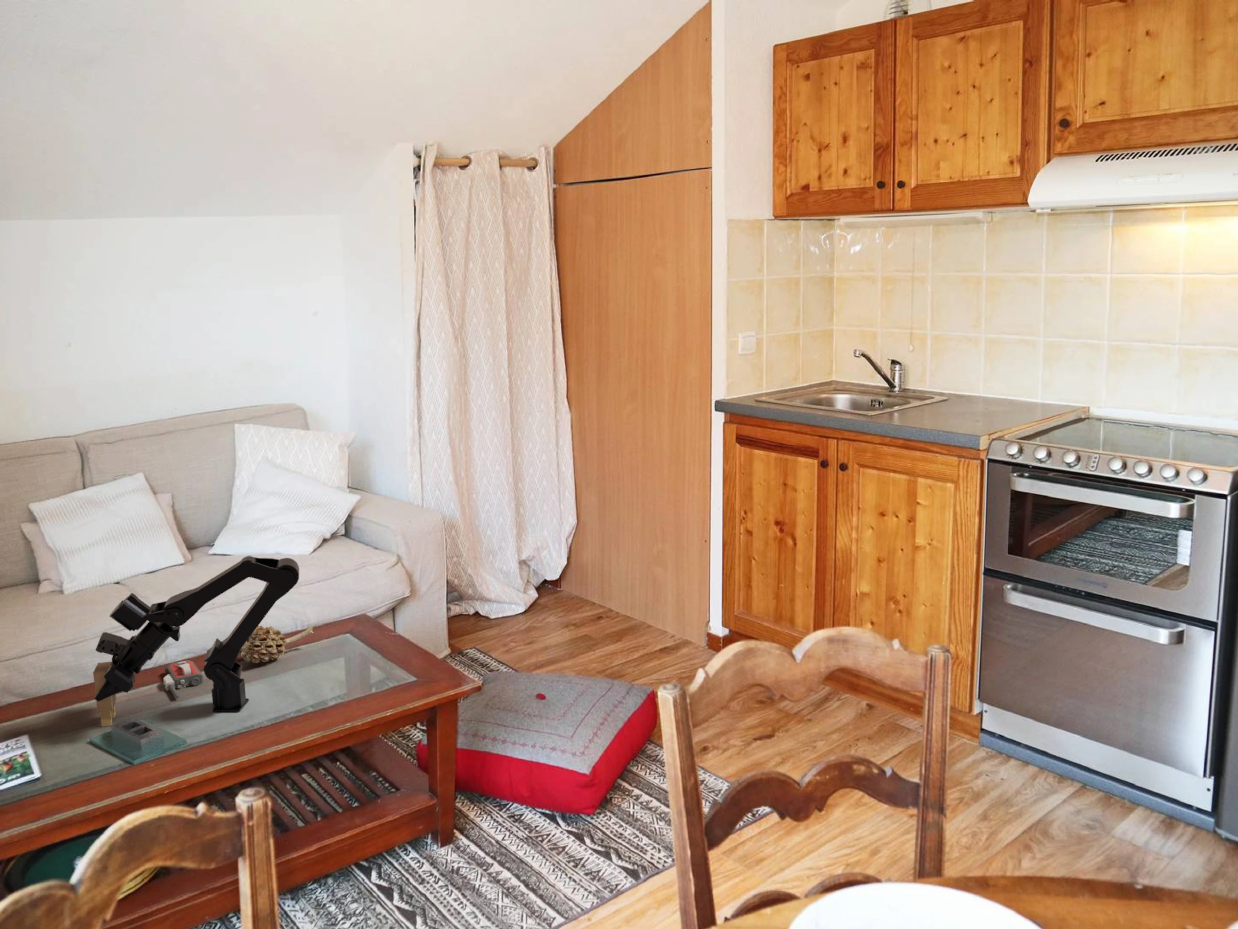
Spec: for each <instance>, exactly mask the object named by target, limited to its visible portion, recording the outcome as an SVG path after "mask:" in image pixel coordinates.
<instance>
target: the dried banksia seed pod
mask: <svg viewBox="0 0 1238 929" xmlns="http://www.w3.org/2000/svg"><path fill="white" fill-rule="evenodd" d="M313 629H314V627H313V626H310V627H309V626H307V629H305V630H304V631H302V632H300V633H298V634H296V635H294V636H292V637H288V638H286V635H282V634H283V633H282V632H281V630H279V629H275V627H273V626H272V625H269V626H263V625H258V627H257V628H256V629H255V631H254V632H253V633H252V635H251V636H250V637H249V639H248V640H247V641H246V643H245V644H244V645H243V647H242V648H241V650H240V652H239V654H238V656H237V658H243V660H244V661H246V662H247V663H249V662H250V661H252V663H253V664H258V663H260V661H261V662H262V663H268V662H269V661H270V660H272V661H274V660H276V659H279V658H280V655H284V653H285V652H284V651H286V648H285V646H286V645H289V644H291V643H294V642H296V641H298V640H300V639H302V638H304V637H306V636H308V635H311V634H314V632H313Z"/></svg>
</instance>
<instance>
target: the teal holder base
mask: <svg viewBox="0 0 1238 929" xmlns="http://www.w3.org/2000/svg"><path fill="white" fill-rule="evenodd" d="M187 741H188V740H187V739H185V738H184V737H181V736H178V735H176V734H174V733H172V732H170V731H168V730H166V729H163V728H162V727H159V726H157V725H155V724H152V723H150V722H149V721H146V720H144V719H143V718H141V719H136V718H135V717H131V718H128V719H125V720H123V721H120V722H117V723H114V724H112V725H111V726H110V730H109V731H107V732H106V731H105V732H104V733H101V734H98V735H95V736H93V737H90V738H89V743H91V744H93V745H95V746H97V747H99V748H101V749H102V750H105V751H107V752H109V753H110V754H113V755H115V756H116V757H119V758H120V759H123V760H124V761H126V762H128V763H131V764H132V765H137V764H138V763H141V762H143V761H147V760H149V759H151V758H154V757H156V756H159V755H161V754H163V753H166V752H168V751H171V750H174V749H176V748H178V747H181V746H184V745H186V744H187V743H188V742H187Z"/></svg>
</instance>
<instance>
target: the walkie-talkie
mask: <svg viewBox="0 0 1238 929" xmlns="http://www.w3.org/2000/svg"><path fill="white" fill-rule="evenodd" d="M164 673H165V674H166V675H165V676H164V677H163V686H164V685H165V686H164V688H165V690H166V689H169V690H168V691H170V692H171V693H172V694H171V695H173V697H174V698H175V699H179V697H180V695H179V692H178V691H177V689H175V688H181V689H183V688H182V687H184V686H189V687H195V686H198V685H202V684H204V675H203V673H202V672H201V670H200V669H199V668H198V666H197V665H196V663H195V662H194V661H192V660H189V659H187V660H182V661H176V662H172V663H169V664H168V665H167V666H166V668H165V669H164ZM201 683H202V684H201ZM190 685H191V686H190ZM192 685H193V686H192ZM184 688H185V687H184Z"/></svg>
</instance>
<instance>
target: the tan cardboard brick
mask: <svg viewBox="0 0 1238 929" xmlns="http://www.w3.org/2000/svg"><path fill="white" fill-rule="evenodd" d="M111 665H113V663H112V661H105V662H104V661H103V662H98V663H97V664H96V666H95V668H94V670H93V672H92V673H93V682H94V683H93V684H94V691H95V693H94V694H95V696H96V695H97V694H98V692H99V691H100V689H101V688H102V686H103V684H104V683H105V681H106V679H105V678H104V674H105V672H106V670H108V668H109V667H110V666H111ZM95 701H96V702H95V703H96V712H97V713H99V714H100V722H101V727H111V725H113V718H115V717H116V716H117V715H116V708H115V706H116V703H117V693H116V694H114V695H112V696H110V697H107V698H105V699H103V700H101V701H97V700H95ZM115 715H116V716H115Z"/></svg>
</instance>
